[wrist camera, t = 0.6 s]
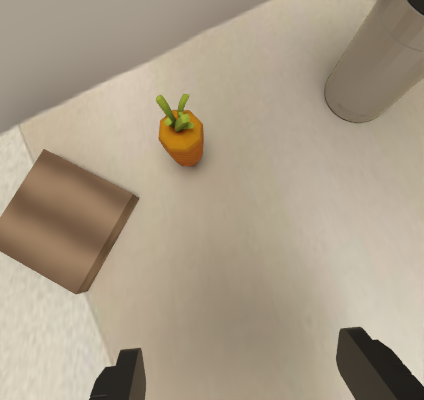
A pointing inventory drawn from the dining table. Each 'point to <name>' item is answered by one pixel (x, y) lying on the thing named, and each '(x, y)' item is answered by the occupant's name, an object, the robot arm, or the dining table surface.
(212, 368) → the dining table surface
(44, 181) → the walnut plinth
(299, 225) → the dining table surface
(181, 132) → the carrot
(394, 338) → the dining table surface
